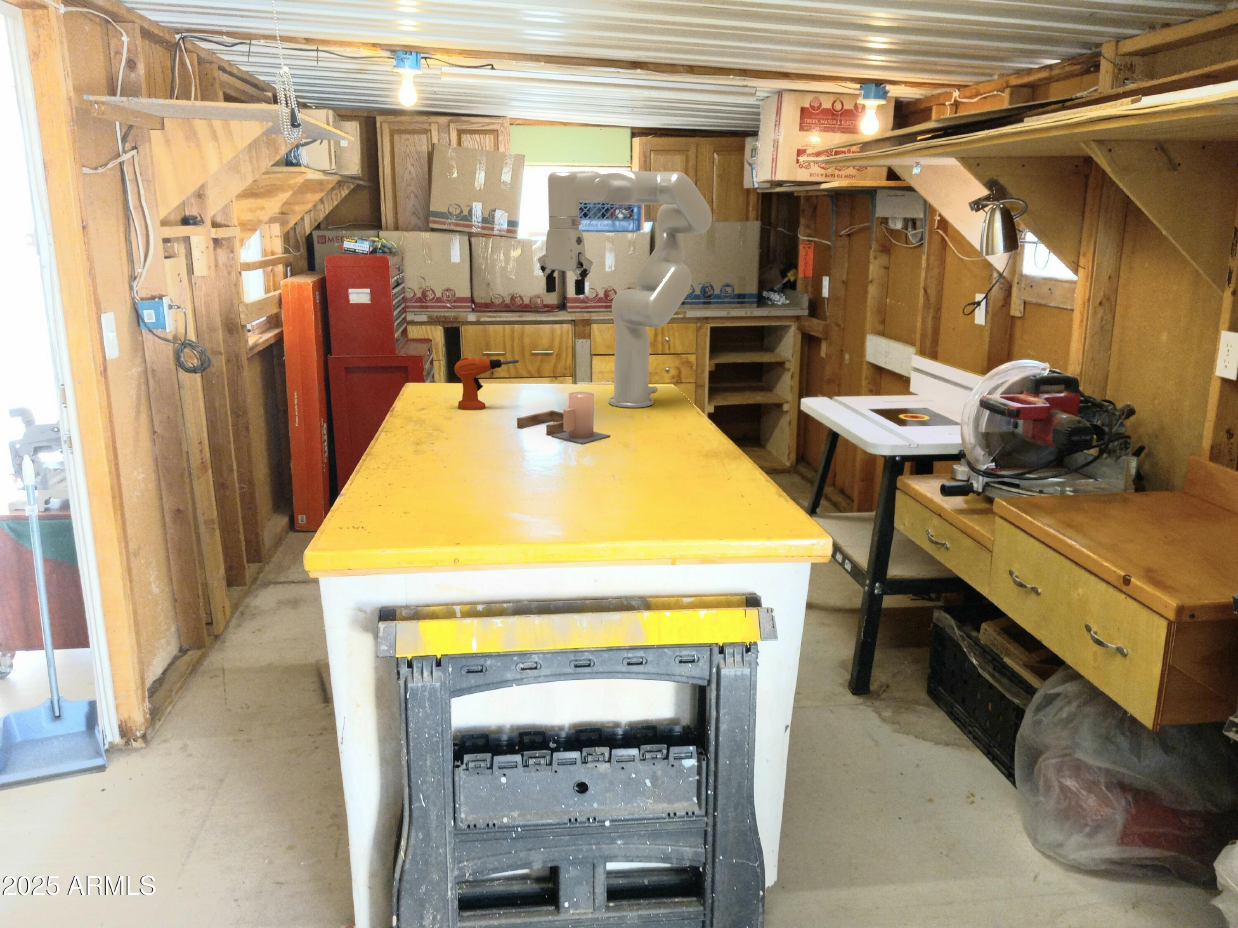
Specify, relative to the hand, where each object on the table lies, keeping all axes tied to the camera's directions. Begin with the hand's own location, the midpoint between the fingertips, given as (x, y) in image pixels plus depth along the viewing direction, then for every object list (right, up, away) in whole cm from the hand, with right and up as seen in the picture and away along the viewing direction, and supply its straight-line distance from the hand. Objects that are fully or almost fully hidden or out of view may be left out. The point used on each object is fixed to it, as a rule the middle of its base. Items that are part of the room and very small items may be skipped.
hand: (565, 293), depth 233 cm
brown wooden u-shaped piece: (-3, -34, -4) cm, 34 cm away
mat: (+4, -37, -13) cm, 39 cm away
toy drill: (-22, -28, +17) cm, 39 cm away
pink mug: (+4, -37, -14) cm, 39 cm away
